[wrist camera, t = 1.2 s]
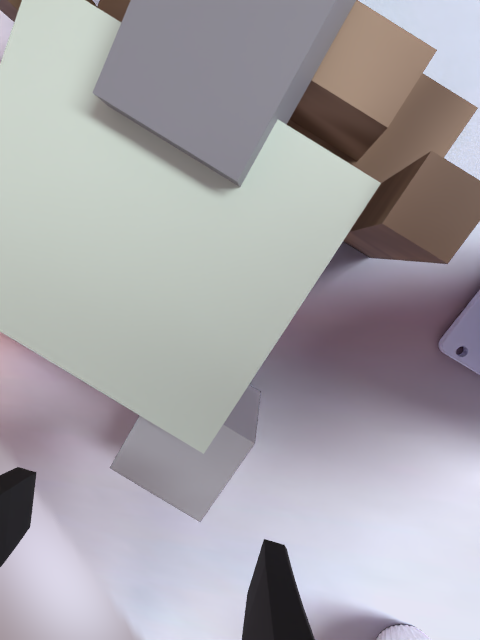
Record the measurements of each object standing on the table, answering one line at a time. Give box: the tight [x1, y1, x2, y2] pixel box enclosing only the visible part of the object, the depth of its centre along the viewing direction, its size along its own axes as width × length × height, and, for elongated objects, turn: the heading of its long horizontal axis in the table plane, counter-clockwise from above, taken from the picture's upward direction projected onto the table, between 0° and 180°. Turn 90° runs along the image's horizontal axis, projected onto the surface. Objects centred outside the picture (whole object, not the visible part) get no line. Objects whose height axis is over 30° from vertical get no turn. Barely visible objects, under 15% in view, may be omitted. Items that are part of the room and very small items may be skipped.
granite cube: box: [110, 385, 261, 522], centre depth 16 cm, size 4×4×5 cm
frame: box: [0, 0, 480, 264], centre depth 11 cm, size 16×7×8 cm, turn 59°
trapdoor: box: [0, 0, 381, 454], centre depth 10 cm, size 11×18×3 cm, turn 149°
